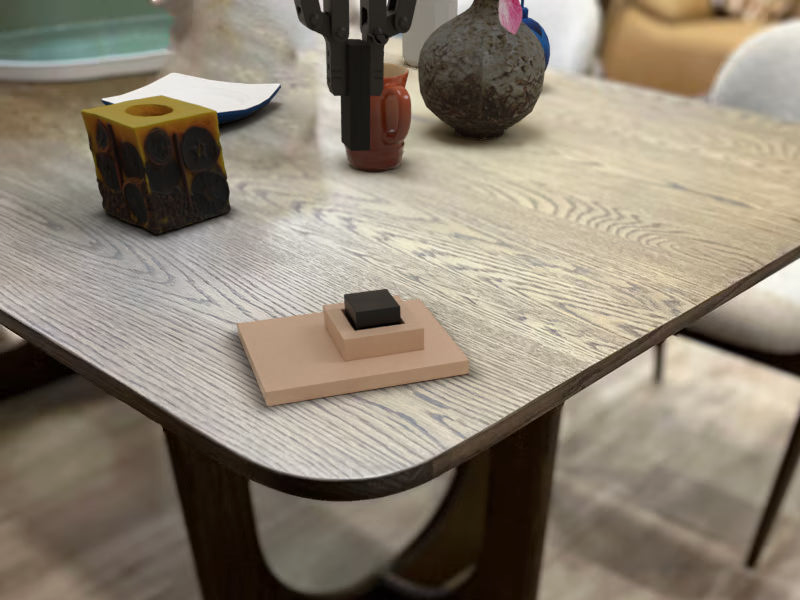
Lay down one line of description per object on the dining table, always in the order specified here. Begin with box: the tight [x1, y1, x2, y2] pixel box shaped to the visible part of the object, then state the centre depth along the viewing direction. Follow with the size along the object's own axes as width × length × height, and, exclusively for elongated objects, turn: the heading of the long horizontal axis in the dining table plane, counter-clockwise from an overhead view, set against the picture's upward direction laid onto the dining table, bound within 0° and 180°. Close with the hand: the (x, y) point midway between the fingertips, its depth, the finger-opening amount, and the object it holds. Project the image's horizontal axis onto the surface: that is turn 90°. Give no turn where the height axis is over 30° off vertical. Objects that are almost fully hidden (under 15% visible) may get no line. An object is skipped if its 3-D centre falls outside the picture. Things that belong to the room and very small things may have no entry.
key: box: [343, 288, 401, 331], centre depth 66 cm, size 4×4×2 cm
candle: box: [80, 95, 232, 235], centre depth 88 cm, size 10×10×10 cm
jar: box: [401, 0, 459, 68], centre depth 144 cm, size 10×10×18 cm
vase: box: [417, 0, 546, 140], centre depth 107 cm, size 17×18×30 cm
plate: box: [101, 72, 282, 125], centre depth 122 cm, size 20×20×3 cm
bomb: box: [520, 0, 551, 72], centre depth 132 cm, size 10×11×15 cm
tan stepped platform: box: [236, 294, 470, 407], centre depth 67 cm, size 16×12×3 cm
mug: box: [343, 62, 412, 172], centre depth 101 cm, size 12×9×10 cm
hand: (355, 145), depth 62 cm, fingers closed
